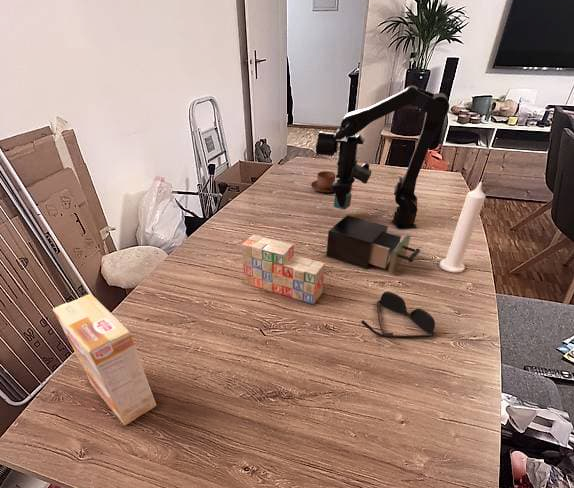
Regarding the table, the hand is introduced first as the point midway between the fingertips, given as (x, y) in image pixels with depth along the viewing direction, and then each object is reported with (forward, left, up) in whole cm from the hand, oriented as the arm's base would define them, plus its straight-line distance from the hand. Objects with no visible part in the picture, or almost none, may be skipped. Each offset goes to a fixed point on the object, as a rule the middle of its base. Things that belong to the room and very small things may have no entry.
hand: (342, 203), depth 134 cm
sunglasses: (+8, +62, -5) cm, 63 cm away
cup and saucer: (-2, -27, -5) cm, 28 cm away
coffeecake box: (+69, +70, -5) cm, 98 cm away
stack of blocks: (+30, +40, -5) cm, 50 cm away
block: (0, 0, -1) cm, 1 cm away
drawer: (-3, +33, -4) cm, 34 cm away
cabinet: (+4, +26, -5) cm, 27 cm away
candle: (-22, +39, -5) cm, 45 cm away
